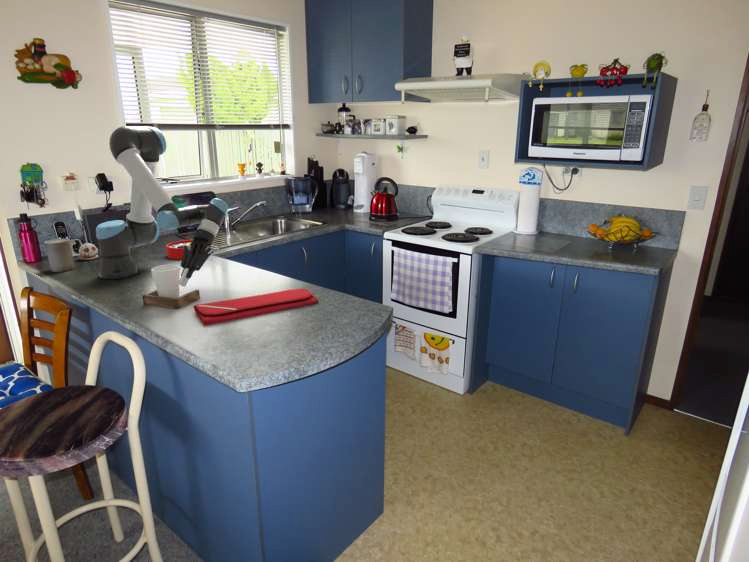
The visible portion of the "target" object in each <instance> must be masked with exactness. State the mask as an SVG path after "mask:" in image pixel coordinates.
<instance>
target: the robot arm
mask: <svg viewBox="0 0 749 562" xmlns="http://www.w3.org/2000/svg"><path fill="white" fill-rule="evenodd" d="M108 144H109V148H110V149H109V150H110V153H111V154H112V157H113V158H114V159H115V162H117V164H118V165H121V166H123V168H124V169H125V170H126V171H127V174H129V176H130V178H131V194H130V211H129V213H127V214H126V217H125V221H124V220H122V219H121V220H120V219H114V220H108V221H105V222H102V223H99V224H98V225H97V226H96V228H95V237H96V240H97V245H98V253H99V256H100V257H99V258H100V262H99V270H98V277H99V278H100V279H104V280H116V279H123V278H129V277H132V276H135V275H136V274H137V273H138V268H137V266H136V264H135V261H134V260H133V258H132V257H131V252H130V249H132V248H137V247H141V246H147V245H149V244H153V243H154V242H156V241H157V240H158V239H159V236H160V229H161V230H163V231H169V230H170V231H171V230H176V229H178V228H182V227H188V226H193V225H198V224H199V225H198V227H197V229H196V231H195V232H194V235H193V239H192V240H193V242H192V243H191V245H189V246H186V245H185V246H184V253H183V257H182V259H181V260H180V267H182V272H181V273H180V277H179V286H180V287H184V288H185V287H186V286H187V284H188V283H189V280H190V279H191V278H192V276H193V274H194V272H196V271H197V272H198V271H200V270H201V268H202V267H203V266H204V264H205V263H206V261H207V260H208V258H210V256H211V255H213V254H214V250H213V249H212V248H211V246H212V245H213V243H214V241H215V238H216V236H217V234H218V232H219V230H220V227H221V226H222V224H223V222H224V219H225V217H226V216H227V213H228V210H229V204H227V202H226V201H225V200H222V199H220V198H217V197H215V198H212V199H211V200H210V201H209V202H208V203H209V204H202V205H201V204H199V205H198V204H197V205H196V204H195V205H194V204H192V205H187V206H184V207H179V208H178V207H177V205H176V203H174V201H173V200H172V199H171V197H170V196H169V195H168V193H167V191H166V190H165V189H164V187H163V186H162V184H161V183H160V182H159V180H158V179H157V178H156V176H155V168H156V167H155V166H156V164H157V163H159V161H160V156H161V155H163V154H164V153H165V152H166V150H167V140H166V138H165V135H164V134H163V132H162V131H161V130H160V129H158V128H157V127H154V126H147V125H143V126H140V125H139V126H136V125H135V126H129V125H128V126H127V125H123V126H119V127H117V128H116V129H114V131H112V133H111V135H110V137H109V143H108ZM152 209H153V210H154V211H155V212H156V217H154V215H152Z"/></svg>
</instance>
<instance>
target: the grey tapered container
mask: <svg viewBox="0 0 749 562" xmlns="http://www.w3.org/2000/svg"><path fill="white" fill-rule="evenodd" d="M44 246H45V250H46V256H47V260H48V263H49V267H50V271H51V272H54V273H62V272H68V271H71V270H75V268H76V265H75V261H74V256H73V251H72V247H71V246H72V245H71V243H70V239H69V238H53V239H49V240H45V241H44Z"/></svg>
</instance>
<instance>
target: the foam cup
mask: <svg viewBox="0 0 749 562" xmlns="http://www.w3.org/2000/svg"><path fill="white" fill-rule="evenodd" d="M150 270H151V276H152V278H153V281H154V285H155V287H156V288H155V289H156V290H157V292H158V295H159V296H160V297H168V298H175V299H176V298H178V297H180V284H179V280H180V274H181V273H180V272H181V270H180V265H178V264H162V265H156V266H153V267H152V268H151V269H150Z"/></svg>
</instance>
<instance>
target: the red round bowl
mask: <svg viewBox="0 0 749 562" xmlns="http://www.w3.org/2000/svg"><path fill="white" fill-rule="evenodd" d="M193 240H194V239H185V240H177V241H173V242H170V243H167V244H166V246H165V247H166V254H167V258H168V259H171V260H182V257H183V253H184V246H185V245H186V246H189V245H191V243H192V242H193Z"/></svg>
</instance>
